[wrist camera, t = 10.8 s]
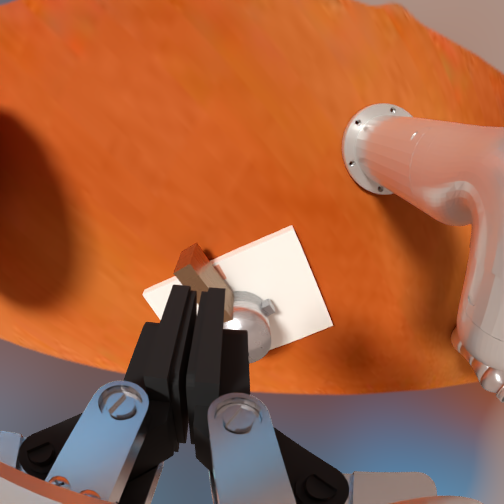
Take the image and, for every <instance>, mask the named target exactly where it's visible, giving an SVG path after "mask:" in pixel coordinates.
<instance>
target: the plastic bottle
mask: <svg viewBox="0 0 504 504" xmlns="http://www.w3.org/2000/svg"><path fill="white" fill-rule="evenodd" d="M451 343H452V345H453V347H454V348H455V349H456V350H457V351H458V352H459V353H460V354H462V355H463V357H464V358H465V359H466V360H467V361H468V362H469V363H470V365H471V366H472V368H473V370H474V371H475V373H476V375H477V377H478V380H479V382H480V384H481V386H482V387H483V388H484V389H485V390H487V391H490V392H495V393H497V394H496V396H497V397H498V398H499V400H500V401H501V402H504V371H500V370H497V369H494V368H491V367H489V366H487V365H485V364H483V363H481V362H479V361H478V360H476V359H475V358H474V357H472V356H471V355H470V354H469V353H468V352H467V350H466V349H465V348H464V346H463V345H462V343H461V341H460V338H459V336H458V331H457V327H456V328H455V329H454V330H453V332H452V334H451Z"/></svg>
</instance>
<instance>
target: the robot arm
mask: <svg viewBox="0 0 504 504" xmlns="http://www.w3.org/2000/svg"><path fill="white" fill-rule="evenodd" d="M390 109H392V111H390ZM355 121H357V122H358V123H357V124H355ZM342 155H343V160H344V163H345V166H346V168H347V170H348V172H349V174H350V176H351V177H352V178H353V179H354V181H355V182H357V183H358V184H359V185H360V186H361V187H363V188H364V189H366V190H368V191H370V192H372V193H376V194H380V195H389V194H394V193H395V194H396V195H398V196H399V197H401V198H403V199H404V200H406V201H407V202H409V203H411V204H412V205H414V206H415V207H417V208H418V209H420V210H421V211H423V212H424V213H426V214H428V215H429V216H431V217H432V218H434V219H435V220H437V221H439V222H441V223H444V224H447V225H451V226H465V225H469V224H472V231H471V239H470V252H469V258H468V264H467V270H466V275H465V280H464V285H463V289H462V293H461V298H460V302H459V308H458V313H457V331H458V336H459V338H460V341H461V343H462V345H463V346H464V348H465V349H466V350H467V352H468V353H469V354H470V355H471V356H472V357H474V358H475V359H476V360H478V361H479V362H481V363H483V364H485V365H487V366H489V367H491V368H494V369H497V370H500V371H504V127H484V126H476V125H467V124H460V123H454V122H446V121H439V120H431V119H423V118H414V117H412V115H411V114H410V113H408V112H407V111H405V110H404V109H403V108H400V107H398V106H396V105H392V104H383V103H381V104H373V105H370V106H367V107H365V108H363V109H362V110H360V111H359V112H357V113H356V114H355V115H354V116H353V117H352V119H351V120H350V122H349V123H348V125H347V127H346V129H345V132H344V135H343V140H342ZM350 161H351V162H352V164H349V163H350ZM379 186H380V188H379V189H378V187H379ZM225 290H226V288H212V287H209V288H208V292H206V291H202V292H201V297H200V302H199V307H198V313H197V291H193V290H191V287H190V286H187V285H175V284H174V285H173V286H172V289H171V292H170V295H169V297H168V300H167V303H166V306H165V309H164V312H163V315H162V318H161V321H160V323H153V322H146V323H145V324H144V326H143V329H142V332H141V334H140V337H139V339H138V342H137V345H136V347H135V350H134V353H133V356H132V358H131V361H130V364H129V367H128V369H127V372H126V375H125V378H124V381H113V382H110V383H107V384H105V385H103V386H102V387H100V388H99V389H98V390H97V392H96V393H95V394H94V396H93V397H92V399H91V401H90V402H89V404H88V405H87V407H86V409H85V410H84V412H83V413H81V414H79V415H77V416H74V417H72V418H70V419H67V420H65V421H63V422H61V423H59V424H56V425H54V426H52V427H49V428H46V429H44V430H42V431H39V432H37V433H34V434H32V435H31V436H29V437H27V438H25V437H23V436H22V434H19V433H12V432H7V431H1V430H0V504H151V501H152V498H153V495H154V492H155V489H156V486H157V483H158V480H159V477H160V474H161V472H162V469H163V464H164V461H165V460H166V459H168V458H170V457H171V456H173V454H174V451H175V452H178V449H179V443H186V439H187V430H188V422H189V428H190V438H191V444H195V450H196V458H197V459H198V460H199V461H200V462H201V463H202V464H203V465H204V466H205V467H206V468H208V469H209V478H210V485H211V492H212V499H213V504H483V503H481V502H479V501H477V500H474V499H471V498H466V497H460V496H437V492H436V487H435V483H434V481H433V480H432V479H431V478H430V477H429V476H427V475H426V474H424V473H419V472H390V473H389V472H357V471H354V472H353V473H352V474H342V473H341V472H340V471H338V470H337V469H336V468H334V467H333V466H331V465H329V464H328V463H326V462H324V461H323V460H321V459H320V458H318V457H317V456H315V455H314V454H312V453H311V452H309V451H307V450H306V449H304V448H303V447H301V446H300V445H299V444H297V443H295V442H294V441H292V440H291V439H290V438H288V437H287V436H285V435H284V434H283V433H281V432H280V431H278V430H277V429H276V428H274V427H273V425H272V421H271V418H270V414H269V411H268V410H267V408H266V406H265V405H264V404H263V403H262V402H261V401H260V400H259V399H257V398H256V397H254V396H252V395H250V379H249V353H248V331H247V330H234V329H223V324H224V307H225Z"/></svg>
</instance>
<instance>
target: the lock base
mask: <svg viewBox="0 0 504 504" xmlns="http://www.w3.org/2000/svg"><path fill="white" fill-rule="evenodd" d="M210 262H211V264H212V265H213V267H214V268H215V269H216V271H217V272H218V273H219V275H220V276H221V278H222V279H223V280H224V282H225V283H226V284H227V286H228V287H229V288H230V290H231V291H232V292H235V291H246V292H250V293H253V294H255V295H257V296H259V297H260V298H261V299H262V300H263V301H264V300H266V299H268V298H269V299H270V301H271V302H272V304H273V305H274V309H275V313H273V314H271V315H269V316H268V318H269V326H270V334H271V347H270V349H269V350H271V349H274V348H277V347H279V346H282V345H285V344H288V343H290V342H293V341H295V340H298V339H301V338H303V337H306V336H308V335H311V334H313V333H316V332H318V331H321V330H323V329H326V328H328V327H331V326H333V324H332V321H331V318H330V316H329V313H328V311H327V308H326V306H325V303H324V301H323V298H322V296H321V293H320V291H319V288H318V286H317V283H316V281H315V279H314V276H313V274H312V271H311V269H310V266H309V264H308V262H307V259H306V257H305V254H304V252H303V250H302V247H301V245H300V243H299V240H298V238H297V236H296V233H295V231H294V229H293V226H292V225H291V226H289V227H286V228H284V229H282V230H279V231H277V232H275V233H272V234H270V235H268V236H266V237H263V238H261V239H259V240H256V241H254V242H252V243H249V244H247V245H245V246H243V247H240V248H238V249H236V250H233V251H231V252H229V253H226V254H224V255H222V256H220V257H217V258H215V259H213V260H210ZM174 284H175V285H182V284H181V282H180V281H179V280H178V279H177V277H176V276H174V277H172V278H170V279H167V280H165V281H163V282H161V283H158V284H156V285H154V286H151V287H149V288H147V289H145V290H144V292H143V296H144V298H145V299H146V300H147V302H148V303H149V305H150V306H151V307H152V309H153V310H154V312H155V313H156V314H157V316H158V317H159V319H160V320H161V318H162V315H163V312H164V309H165V306H166V303H167V300H168V297H169V295H170V292H171V289H172V286H173V285H174ZM198 307H199V305H198V304H197V313H198Z"/></svg>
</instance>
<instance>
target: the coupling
mask: <svg viewBox="0 0 504 504" xmlns="http://www.w3.org/2000/svg"><path fill="white" fill-rule="evenodd" d="M174 275H175V276H176V277H177V279H178V280H179V281H180V282H181V284H182V285H187V286H190V287H191V290H193V291H197V304H198V305H199V302H200V297H201V292H202V291H206V292H208V288H209V287H212V288H226V290H225V307H224V324H223V329H234V330H247V331H248V353H249V363H253V362H256V361H258V360H260V359H261V358H263V357H264V356H265V355H266V354H267V353H268V351H269V349H270V347H271V334H270V326H269V318H268V316H269V315H271V314H273V313H275V309H274V305H273V304H272V302H271V301H270V299H269V298H268V299H266V300H264V301H263V300H262V299H261V298H260V297H259V296H257V295H255V294H253V293H250V292H246V291H235V292H232V291H231V290H230V288H229V287H228V286H227V284H226V283H225V282H224V280H223V279H222V278H221V276H220V275H219V273H218V272H217V271H216V269H215V268H214V267H213V265H212V264H211V262H210V261H209V260H208V258H207V257H206V255H205V254H204V253H203V251H202V250H201V248H200V247H199V246H198V244H197V243H195V244H194V245H192V246H190V247H189V248H187V249H185V250H184V251H182V252H181V255H180V257H179V260H178V263H177V265H176V268H175V270H174Z"/></svg>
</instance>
